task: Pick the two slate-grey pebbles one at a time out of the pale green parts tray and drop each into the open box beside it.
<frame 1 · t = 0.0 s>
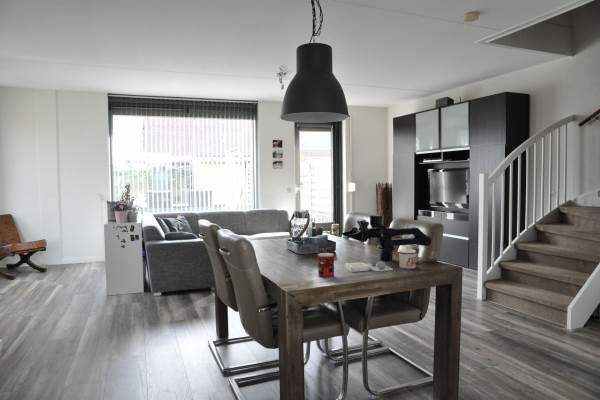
hand: (344, 235, 243), 17 cm above the table, tool horizontal, fingers open, 9 cm apart
canned food: (326, 276, 217), on the table
pebble a: (373, 265, 236), point 1 cm above the table, touching tray
tray: (377, 268, 232), on the table
open box: (357, 270, 228), on the table
pebble b: (381, 269, 227), point 1 cm above the table, touching tray
teacup with lid: (409, 267, 232), on the table
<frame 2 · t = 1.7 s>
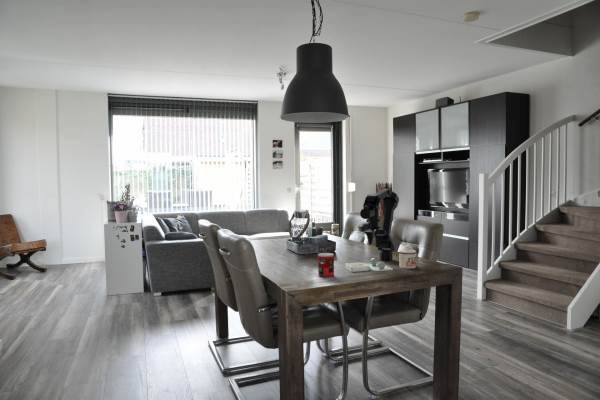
hand: (373, 245, 235), 11 cm above the table, tool pointing down, fingers open, 9 cm apart
nothing on the table moved.
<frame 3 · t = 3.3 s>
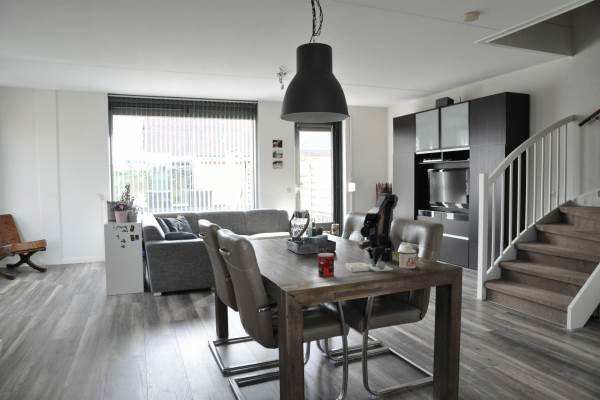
hand: (373, 263, 236), 2 cm above the table, tool pointing down, fingers closed on pebble a, 4 cm apart
pebble a: (373, 265, 236), point 1 cm above the table, touching gripper, tray
everything else where it was.
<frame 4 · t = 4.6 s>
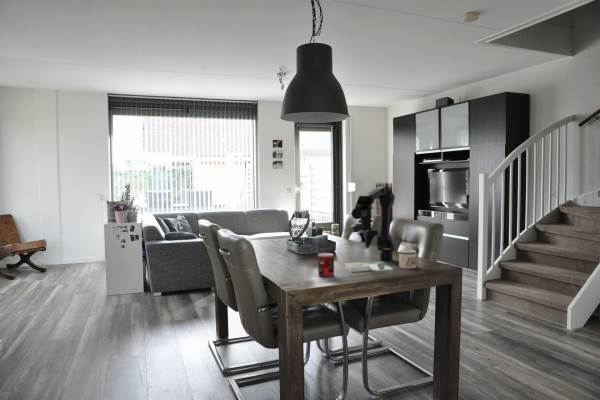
hand: (365, 247, 230), 12 cm above the table, tool pointing down, fingers closed on pebble a, 4 cm apart
pebble a: (365, 249, 230), point 11 cm above the table, touching gripper
everything else where it was.
when the fingers open (5 cm above the table, at t = 6.2 s): pebble a drops 3 cm, resting on open box.
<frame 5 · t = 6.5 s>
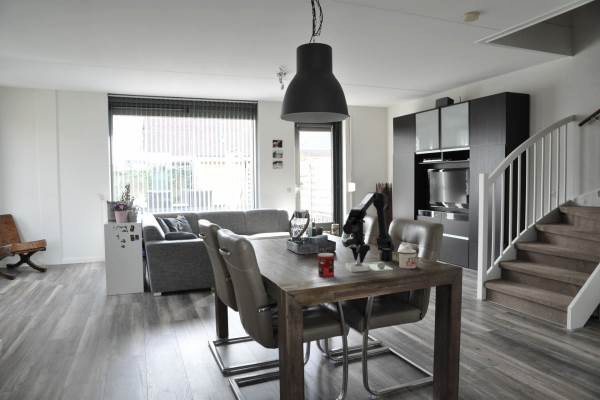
hand: (358, 261, 225), 5 cm above the table, tool pointing down, fingers open, 7 cm apart
pebble a: (358, 269, 226), point 1 cm above the table, touching open box
everything else where it was.
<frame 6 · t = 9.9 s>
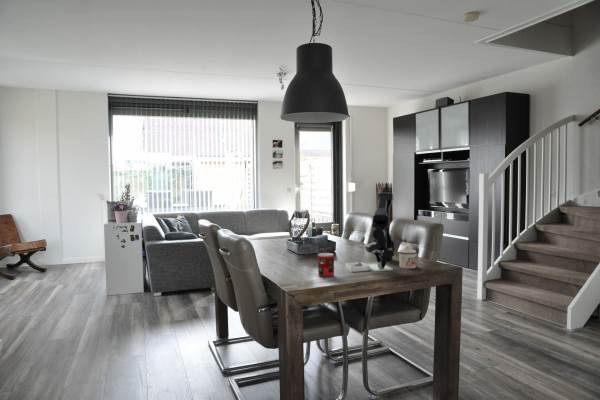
hand: (381, 266, 227), 2 cm above the table, tool pointing down, fingers closed on pebble b, 4 cm apart
pebble b: (381, 269, 227), point 1 cm above the table, touching gripper, tray
everything else where it was.
when the fingers open (5 cm above the table, at t = 12.7 s): pebble b drops 3 cm, resting on open box.
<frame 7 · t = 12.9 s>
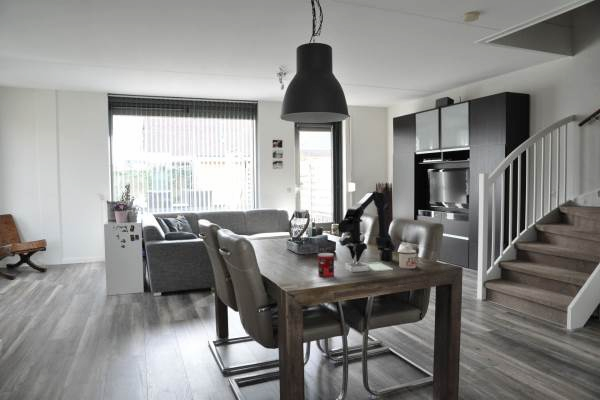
hand: (355, 260, 230), 5 cm above the table, tool pointing down, fingers open, 6 cm apart
pebble b: (355, 267, 230), point 1 cm above the table, tilted 19°, touching open box
everything else where it was.
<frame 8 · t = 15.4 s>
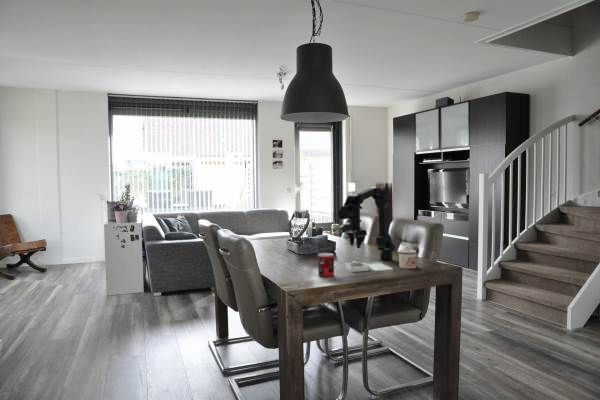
hand: (355, 247, 229), 12 cm above the table, tool pointing down, fingers open, 9 cm apart
pebble a: (358, 269, 226), point 1 cm above the table, tilted 8°, touching open box
pebble b: (355, 267, 230), point 1 cm above the table, tilted 25°, touching open box
everything else where it was.
at the end: pebble a inside the target area on the open box (2.0 cm from its centre), point 0.7 cm above the open box's base; pebble b inside the target area on the open box (2.8 cm from its centre), point 0.9 cm above the open box's base; the gripper is holding nothing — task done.
